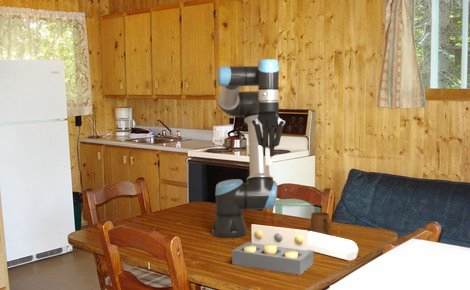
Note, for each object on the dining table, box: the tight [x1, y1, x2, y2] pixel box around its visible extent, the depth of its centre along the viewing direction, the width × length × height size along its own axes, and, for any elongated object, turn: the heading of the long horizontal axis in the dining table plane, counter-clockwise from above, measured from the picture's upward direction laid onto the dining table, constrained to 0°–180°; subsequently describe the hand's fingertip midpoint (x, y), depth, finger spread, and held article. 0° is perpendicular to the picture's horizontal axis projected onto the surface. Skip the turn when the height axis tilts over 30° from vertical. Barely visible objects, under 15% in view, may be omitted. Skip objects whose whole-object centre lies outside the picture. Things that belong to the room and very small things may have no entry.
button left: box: [244, 245, 256, 252], centre depth 194 cm, size 4×4×4 cm
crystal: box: [308, 230, 359, 261], centre depth 204 cm, size 7×7×24 cm
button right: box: [285, 251, 298, 258], centre depth 187 cm, size 4×4×4 cm
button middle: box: [264, 244, 277, 255], centre depth 190 cm, size 4×4×4 cm
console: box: [231, 223, 314, 276], centre depth 192 cm, size 26×13×12 cm, turn 62°
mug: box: [310, 211, 332, 235], centre depth 228 cm, size 12×8×9 cm, turn 21°
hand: (268, 164), depth 201 cm, fingers closed
